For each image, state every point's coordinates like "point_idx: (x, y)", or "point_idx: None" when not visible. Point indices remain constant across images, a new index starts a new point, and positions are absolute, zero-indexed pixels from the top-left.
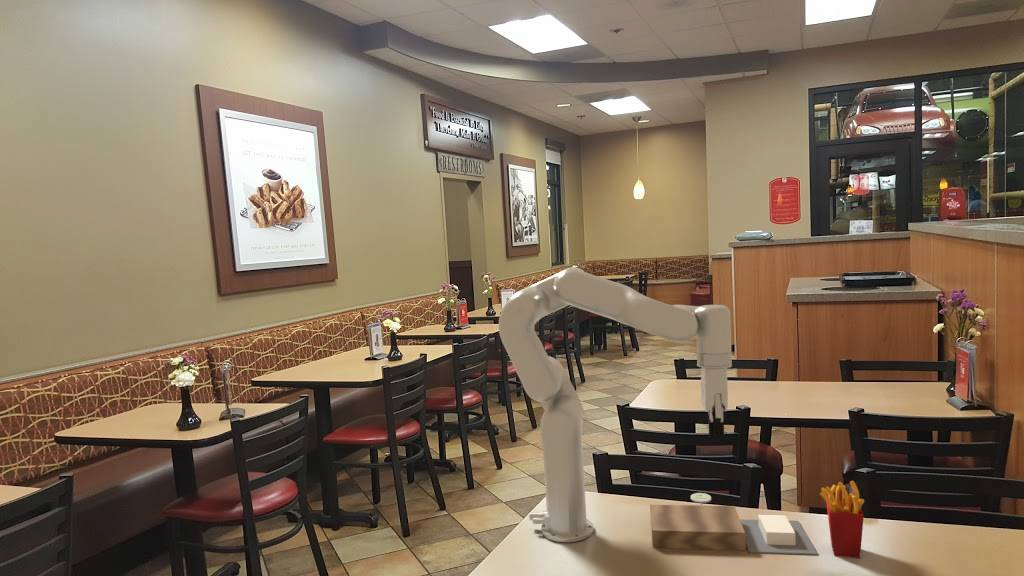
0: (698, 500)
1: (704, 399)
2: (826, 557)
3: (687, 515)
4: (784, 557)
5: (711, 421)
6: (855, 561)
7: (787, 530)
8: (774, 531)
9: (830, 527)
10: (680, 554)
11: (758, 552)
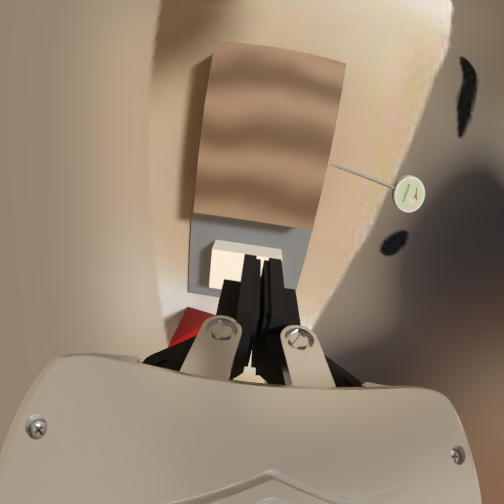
0: (399, 185)
1: (67, 459)
2: (183, 297)
3: (280, 122)
4: (180, 249)
5: (205, 325)
6: (176, 319)
7: (217, 280)
8: (214, 261)
9: (193, 331)
10: (191, 92)
11: (191, 219)
